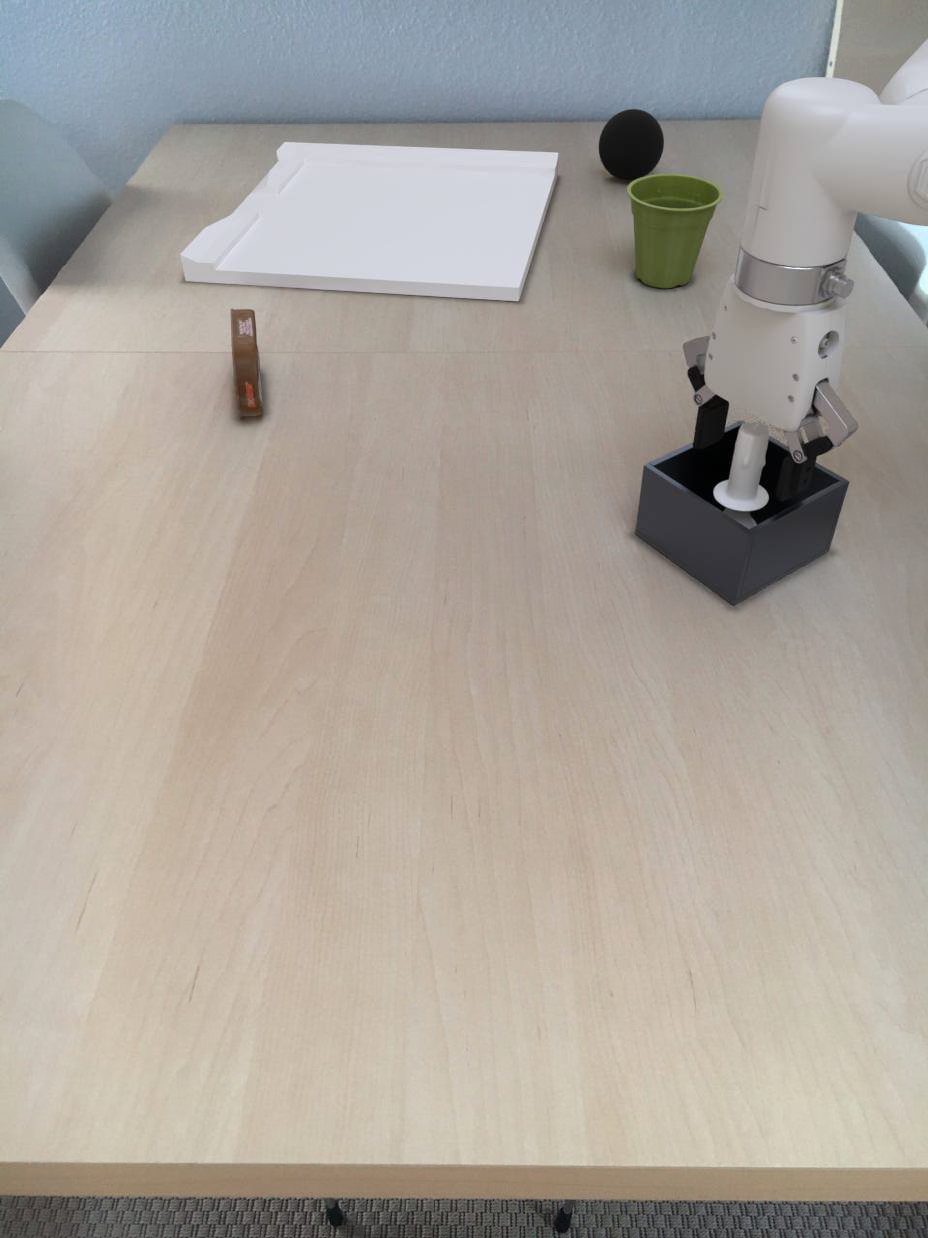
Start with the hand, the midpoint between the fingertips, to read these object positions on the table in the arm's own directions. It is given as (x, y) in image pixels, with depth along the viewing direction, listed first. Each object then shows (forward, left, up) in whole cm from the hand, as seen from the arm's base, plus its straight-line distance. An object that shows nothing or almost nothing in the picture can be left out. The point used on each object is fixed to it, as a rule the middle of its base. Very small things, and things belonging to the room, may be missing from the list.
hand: (747, 467), depth 84 cm
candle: (0, 0, -8) cm, 8 cm away
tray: (-15, -82, -8) cm, 84 cm away
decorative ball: (-55, -74, -8) cm, 93 cm away
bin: (0, 0, -8) cm, 8 cm away
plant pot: (-34, -44, -8) cm, 56 cm away
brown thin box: (+23, -50, -8) cm, 56 cm away
